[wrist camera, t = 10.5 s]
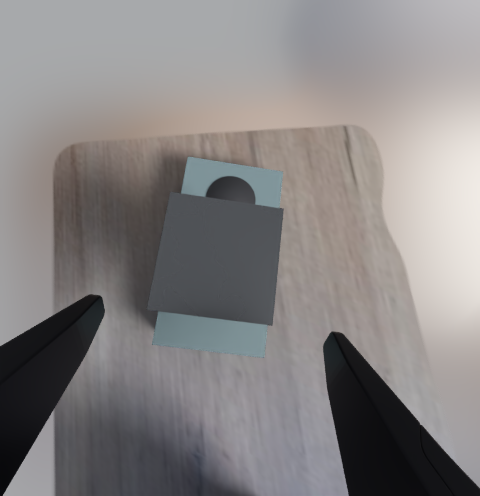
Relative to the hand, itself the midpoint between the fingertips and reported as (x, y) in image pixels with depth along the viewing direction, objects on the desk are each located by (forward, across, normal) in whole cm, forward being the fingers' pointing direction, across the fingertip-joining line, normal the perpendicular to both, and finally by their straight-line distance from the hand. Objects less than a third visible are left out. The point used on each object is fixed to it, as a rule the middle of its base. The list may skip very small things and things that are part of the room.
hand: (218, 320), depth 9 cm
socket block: (+10, 0, +4) cm, 11 cm away
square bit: (+9, 0, +6) cm, 11 cm away
